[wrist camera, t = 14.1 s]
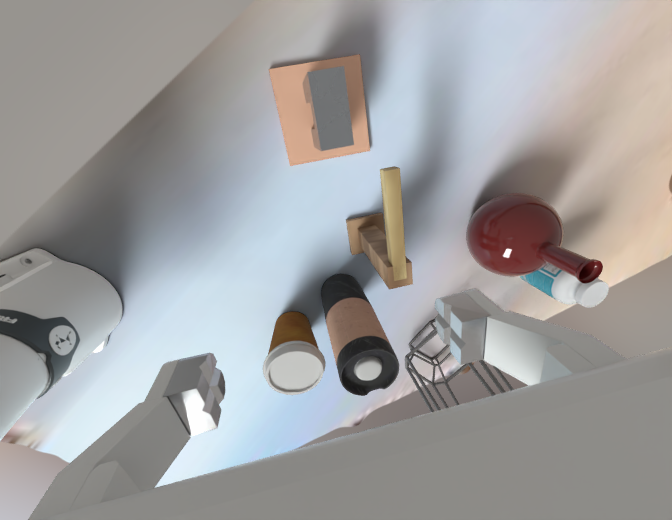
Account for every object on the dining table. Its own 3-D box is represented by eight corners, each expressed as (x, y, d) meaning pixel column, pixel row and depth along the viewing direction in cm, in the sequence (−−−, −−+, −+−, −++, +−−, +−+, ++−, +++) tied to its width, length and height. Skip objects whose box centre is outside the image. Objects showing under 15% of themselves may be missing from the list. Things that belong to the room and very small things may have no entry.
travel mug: (333, 265, 51) (361, 340, 33) (368, 282, 54) (412, 359, 36) (311, 299, 53) (327, 387, 35) (347, 314, 56) (378, 402, 38)
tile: (290, 165, 43) (290, 165, 42) (268, 70, 38) (268, 69, 37) (368, 150, 44) (369, 150, 43) (358, 55, 39) (359, 54, 38)
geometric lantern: (479, 332, 64) (668, 536, 33) (427, 377, 67) (551, 600, 36) (436, 296, 57) (618, 507, 26) (380, 348, 61) (483, 588, 30)
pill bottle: (534, 279, 60) (598, 318, 48) (505, 274, 58) (564, 312, 46) (553, 246, 57) (626, 278, 45) (523, 239, 56) (591, 270, 43)
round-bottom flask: (437, 239, 52) (518, 297, 34) (482, 172, 49) (600, 197, 31) (487, 266, 57) (583, 331, 39) (532, 207, 53) (662, 247, 35)
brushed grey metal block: (302, 82, 38) (307, 72, 31) (331, 77, 39) (343, 65, 31) (314, 147, 42) (321, 151, 34) (341, 142, 42) (354, 144, 35)
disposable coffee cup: (256, 332, 54) (249, 383, 43) (285, 294, 52) (286, 338, 41) (298, 352, 57) (302, 404, 47) (327, 318, 55) (339, 364, 45)
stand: (351, 252, 51) (378, 302, 36) (336, 159, 44) (363, 175, 29) (384, 245, 51) (424, 291, 37) (375, 152, 44) (420, 164, 30)
